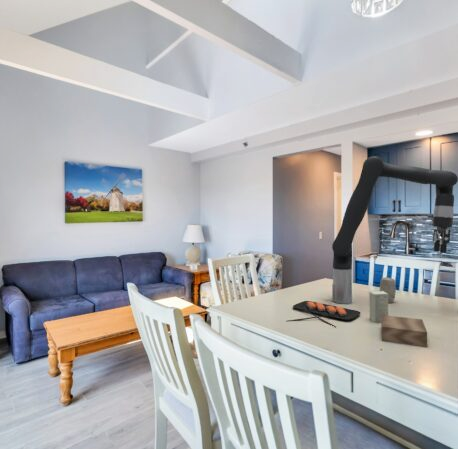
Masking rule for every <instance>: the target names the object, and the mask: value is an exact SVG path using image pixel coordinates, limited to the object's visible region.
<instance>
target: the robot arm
mask: <svg viewBox="0 0 458 449" xmlns="http://www.w3.org/2000/svg"><path fill="white" fill-rule="evenodd" d="M361 168H362V169H361V172H360V176H359V179H358V182H357V184H356V186H355V189H354V190H353V192H352V193H351V196H350V199H349V201H348V204H347V206H346V208H345V211H344V214H343V219H342V223H341V226H340V229H339V231H338V233H337V235H336V237H335V239H334V240H333V243H332V244H331V248H332V252H333V259H332V260H333V261H332V286H331V287H332V299H331V300H332V302H333V303H337V304H345V305H346V304H352V303H353V267H352V266H353V241H354V238H355V234H356V232H357V230H358V228H359V227H360V225H361V224H362V221H364V217H365V215H366V213H367V210H368V208H369V206H370V202H371V199H372V194H373V192H374V187H375V184H376V183H377V180H378V178H379V177H384V178H392V179H398V180H402V181H405V182H412V183H416V184H422V185H434V186H435V202H434V209H433V216H432V224H431V225H432V226H433V227H434V229H433V235H432V242H433V244H434V245H433V252H435V253H436V252H438V253H439V252H440V253H442V254H443V253H444V254H446V253H447V246H448V244H450V242H451V240H450V238H451V229H450V228H453V222H454V214H455V213H454V212H455V211H454V204H455V196H454V193H453V192H454V186H455V185H456V184H457V183H458V175H457V174H456V173H455V172H452V171H449V170H442V169H441V170H439V169H431V168H425V167H417V166H410V165H409V166H408V165H397V164H393V163H392V164H391V163H388V162H385V161H383V159H382V158H380V157H379V156H376V155H374V156H370V157H367V158H366V159H365V160H364V161H363V163H362V167H361ZM435 227H436V229H435Z"/></svg>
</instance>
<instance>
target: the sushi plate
mask: <svg viewBox="0 0 458 449" xmlns="http://www.w3.org/2000/svg"><path fill="white" fill-rule="evenodd" d="M292 308H294V309H296V310H301V311H304V312H306V313H308V314H310V315H312V316H311V317H305V318H297V319H288V320H287V322H298V321H306V320H310V319H311V320H312V319H319V320H320V321H322V322H324V323H325V324H327V325H329V326H331V325H332V327H333V326H334V328H336V327H337V326H336V325H334V324H332V323H330V322H328V321H327V320H325V319H322V317H323V318H325V317H331V318H334V319H339V320H343V321H350V320H353V319H355V318H356V317H359V316H360V315H361V311H359V310H355V309H351V308H345V307H342V306H335V305H332V304H326V303H322V302H318V301H312V300H303V301H301V302H298V303H295V304H294V305H292ZM315 314H316V315H317V316H316V315H315ZM318 315H319V316H318Z"/></svg>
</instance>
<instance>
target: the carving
mask: <svg viewBox="0 0 458 449" xmlns="http://www.w3.org/2000/svg"><path fill="white" fill-rule="evenodd" d="M396 287H397V286H396V281H395V279H394V278H392V277H382V278H381V279H380V283H379V291H384V292H386V293H388V304H392V303H394V302H395V299H396V293H397V291H396Z"/></svg>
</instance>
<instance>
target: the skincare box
mask: <svg viewBox="0 0 458 449" xmlns="http://www.w3.org/2000/svg"><path fill="white" fill-rule="evenodd" d="M368 295H369V320H370V321H372V322H374V323H381V315H387V316H389V303H388V293H386V292H384V291H380V290H375V291H373V290H372V291H369V294H368Z"/></svg>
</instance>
